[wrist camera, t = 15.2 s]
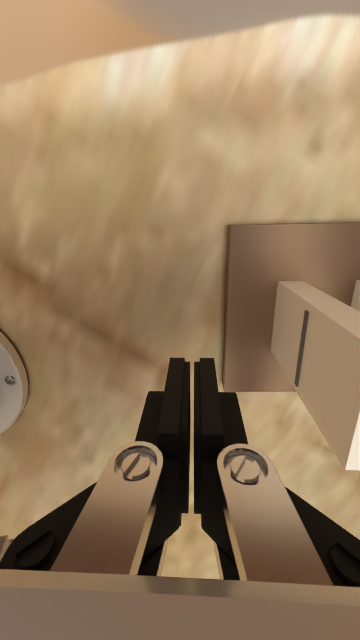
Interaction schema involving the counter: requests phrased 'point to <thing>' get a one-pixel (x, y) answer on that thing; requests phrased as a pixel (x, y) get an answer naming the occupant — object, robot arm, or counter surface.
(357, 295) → the domino
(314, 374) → the domino
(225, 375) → the walnut board
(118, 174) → the counter surface
